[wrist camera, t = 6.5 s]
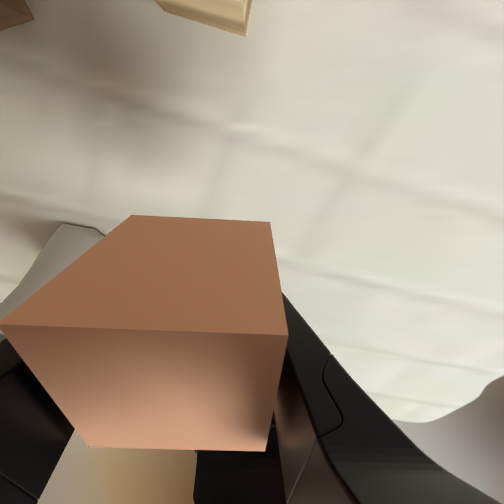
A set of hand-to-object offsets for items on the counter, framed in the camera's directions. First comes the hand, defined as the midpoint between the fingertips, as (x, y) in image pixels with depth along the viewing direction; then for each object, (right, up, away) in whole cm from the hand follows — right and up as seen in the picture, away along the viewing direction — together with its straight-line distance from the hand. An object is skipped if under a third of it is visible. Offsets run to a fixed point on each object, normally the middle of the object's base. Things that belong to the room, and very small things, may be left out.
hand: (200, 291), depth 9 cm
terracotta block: (0, +1, +1) cm, 1 cm away
